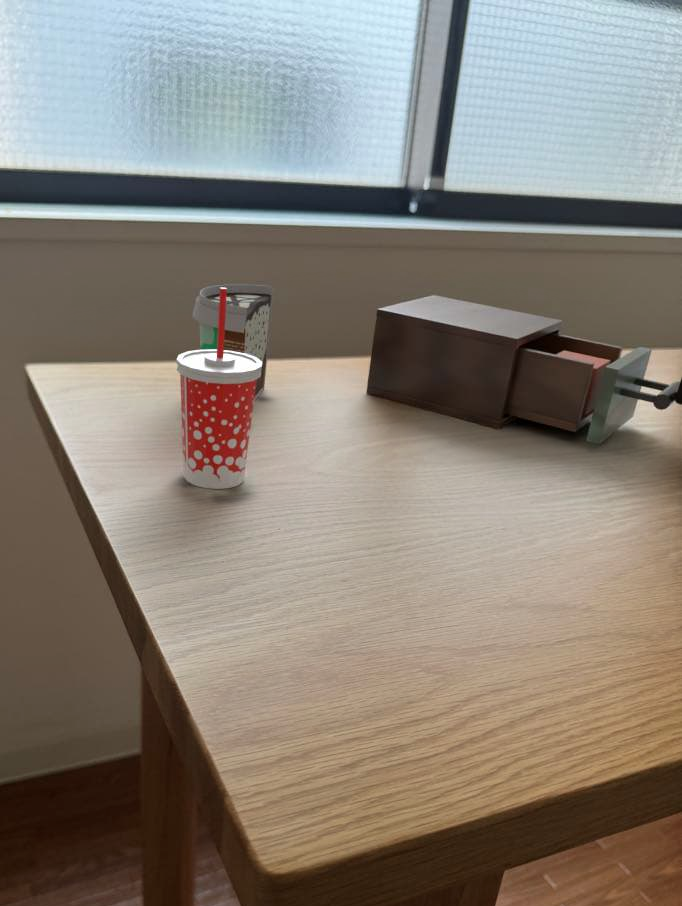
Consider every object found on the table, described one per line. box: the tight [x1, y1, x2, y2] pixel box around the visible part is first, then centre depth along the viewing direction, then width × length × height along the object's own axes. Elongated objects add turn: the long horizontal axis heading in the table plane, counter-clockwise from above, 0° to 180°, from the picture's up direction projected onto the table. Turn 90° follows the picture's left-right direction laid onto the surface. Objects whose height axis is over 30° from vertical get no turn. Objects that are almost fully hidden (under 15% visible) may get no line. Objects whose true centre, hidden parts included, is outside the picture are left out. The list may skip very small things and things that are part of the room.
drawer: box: [505, 333, 681, 445], centre depth 81 cm, size 18×11×7 cm, turn 54°
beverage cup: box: [176, 288, 262, 490], centre depth 61 cm, size 6×6×14 cm
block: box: [556, 350, 611, 416], centre depth 81 cm, size 5×5×5 cm
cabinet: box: [366, 294, 564, 430], centre depth 87 cm, size 15×13×9 cm
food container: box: [192, 283, 275, 402], centre depth 80 cm, size 12×6×10 cm, turn 168°
